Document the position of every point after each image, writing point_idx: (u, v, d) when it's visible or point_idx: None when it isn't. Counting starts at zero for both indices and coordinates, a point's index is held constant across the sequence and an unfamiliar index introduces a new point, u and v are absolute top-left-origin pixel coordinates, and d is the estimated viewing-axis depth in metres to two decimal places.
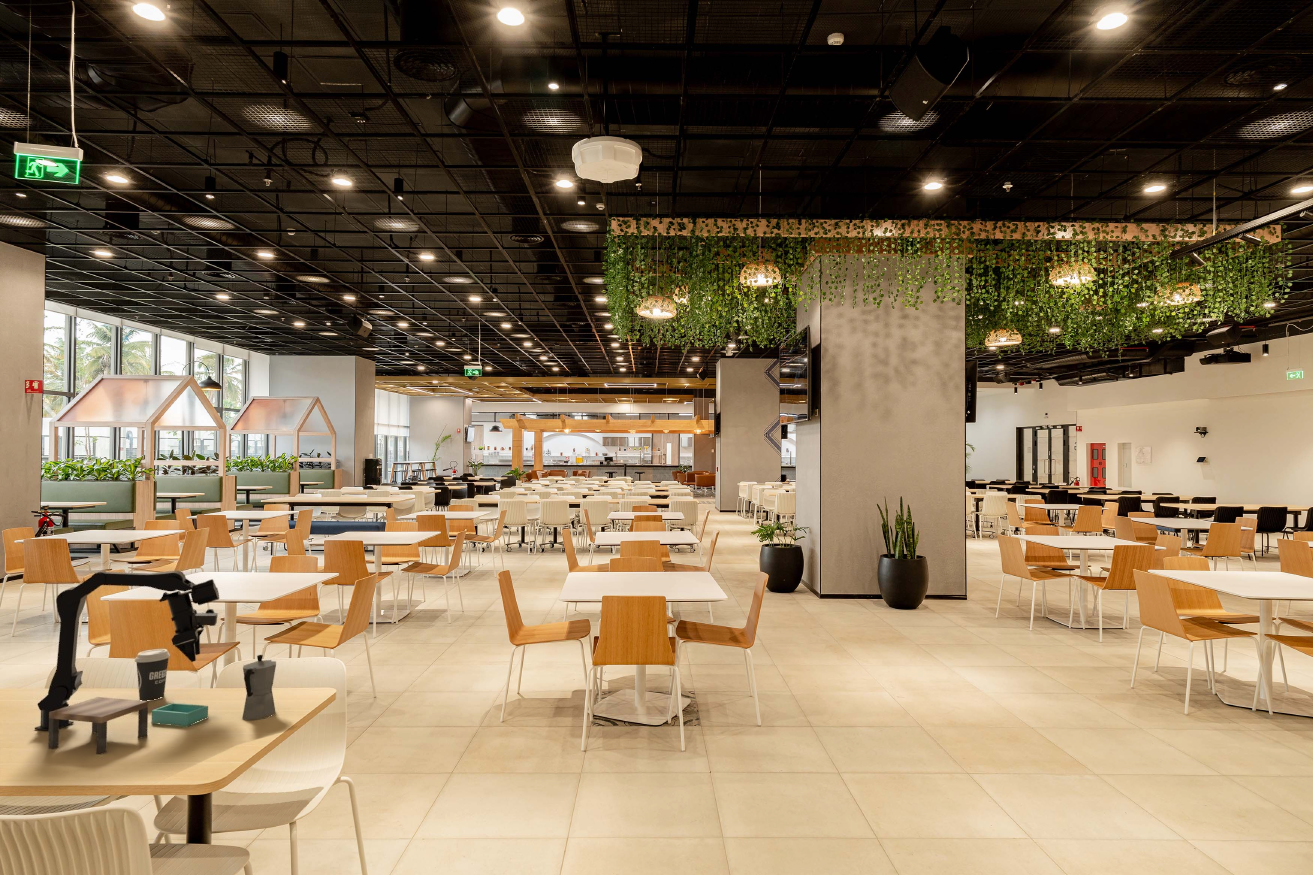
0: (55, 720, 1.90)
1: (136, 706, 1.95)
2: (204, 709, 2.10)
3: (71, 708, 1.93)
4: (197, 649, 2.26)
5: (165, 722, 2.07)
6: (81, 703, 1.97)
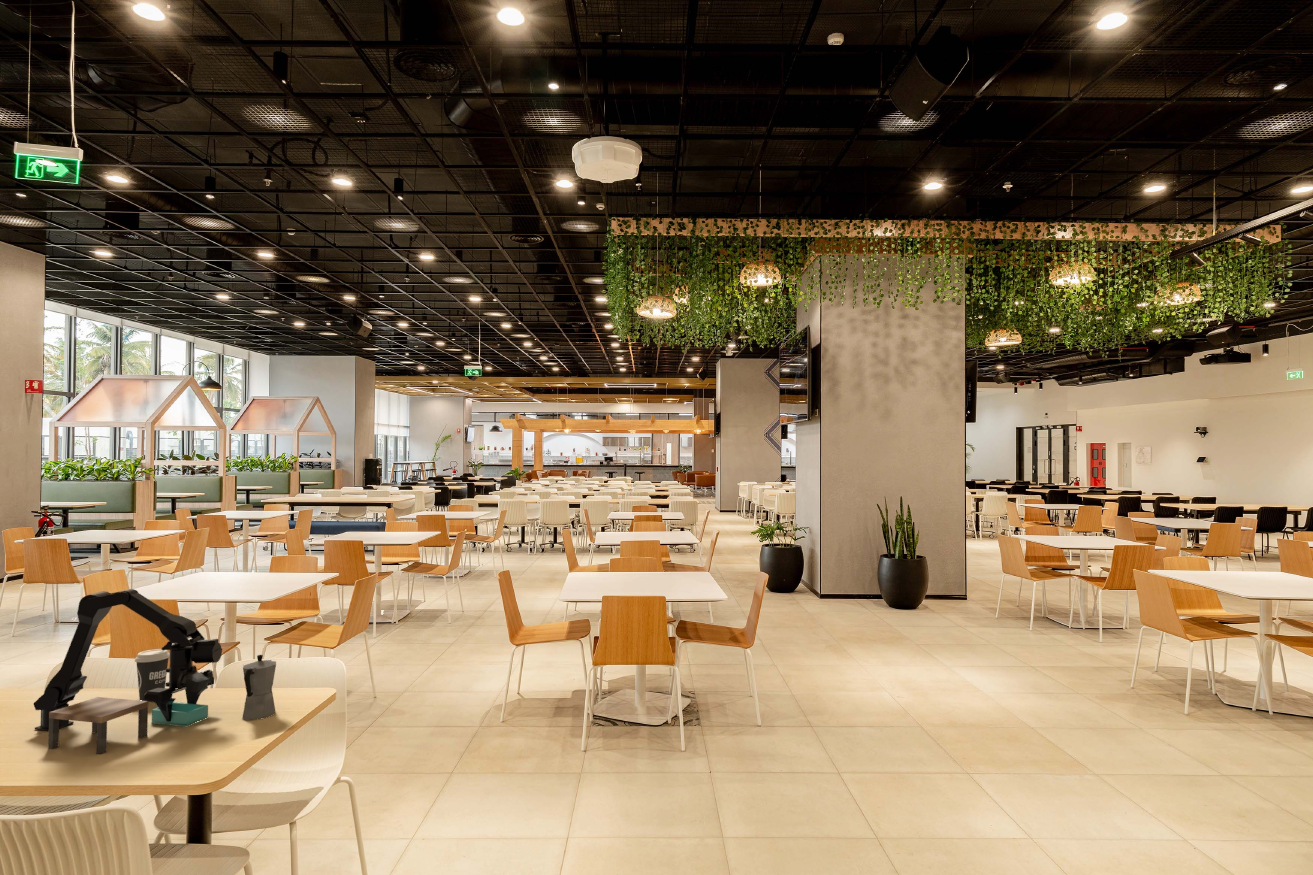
0: (55, 720, 1.90)
1: (136, 706, 1.95)
2: (204, 708, 2.10)
3: (71, 708, 1.93)
4: None
5: (165, 721, 2.07)
6: (81, 703, 1.97)
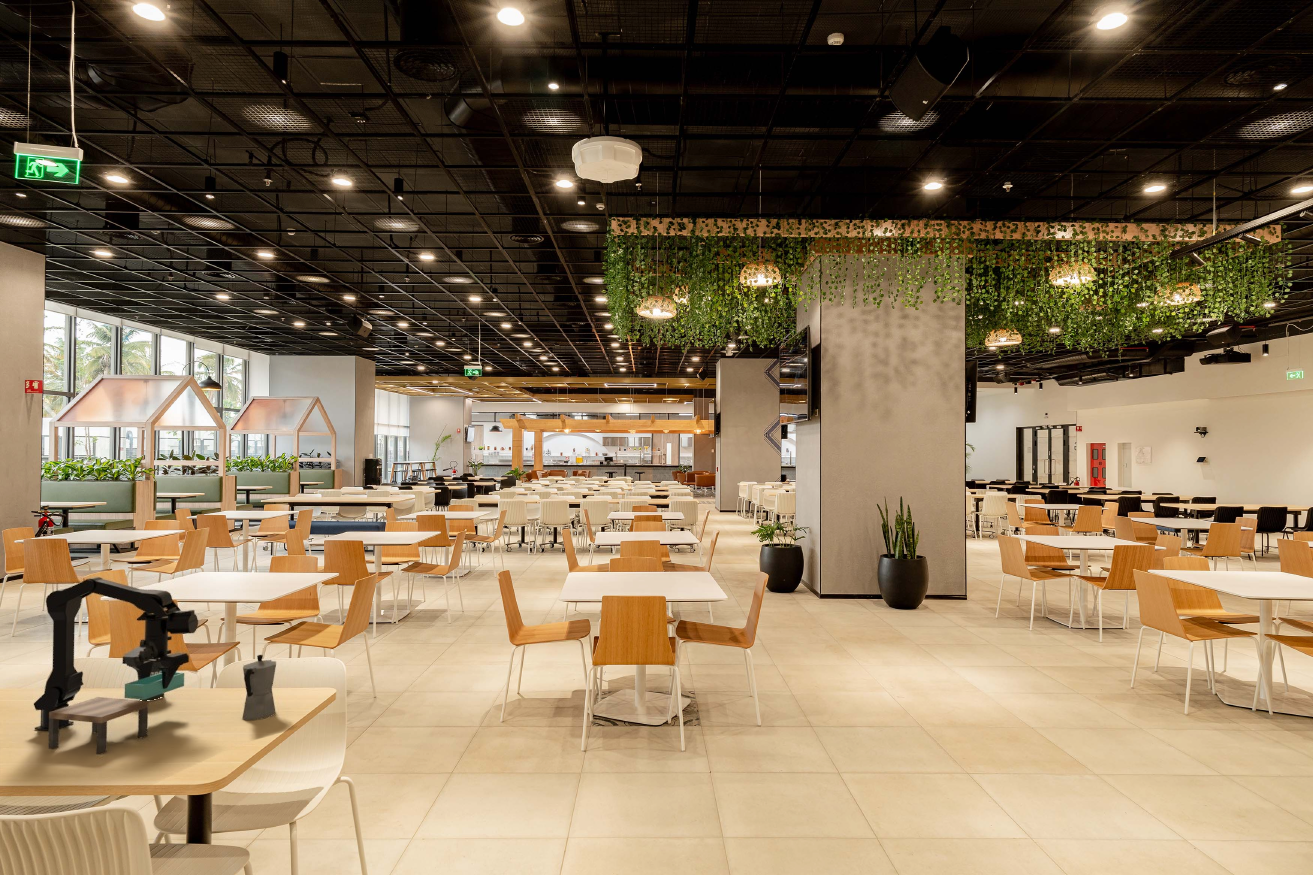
0: (55, 720, 1.90)
1: (136, 706, 1.95)
2: (140, 687, 2.03)
3: (71, 708, 1.93)
4: None
5: None
6: (81, 703, 1.97)
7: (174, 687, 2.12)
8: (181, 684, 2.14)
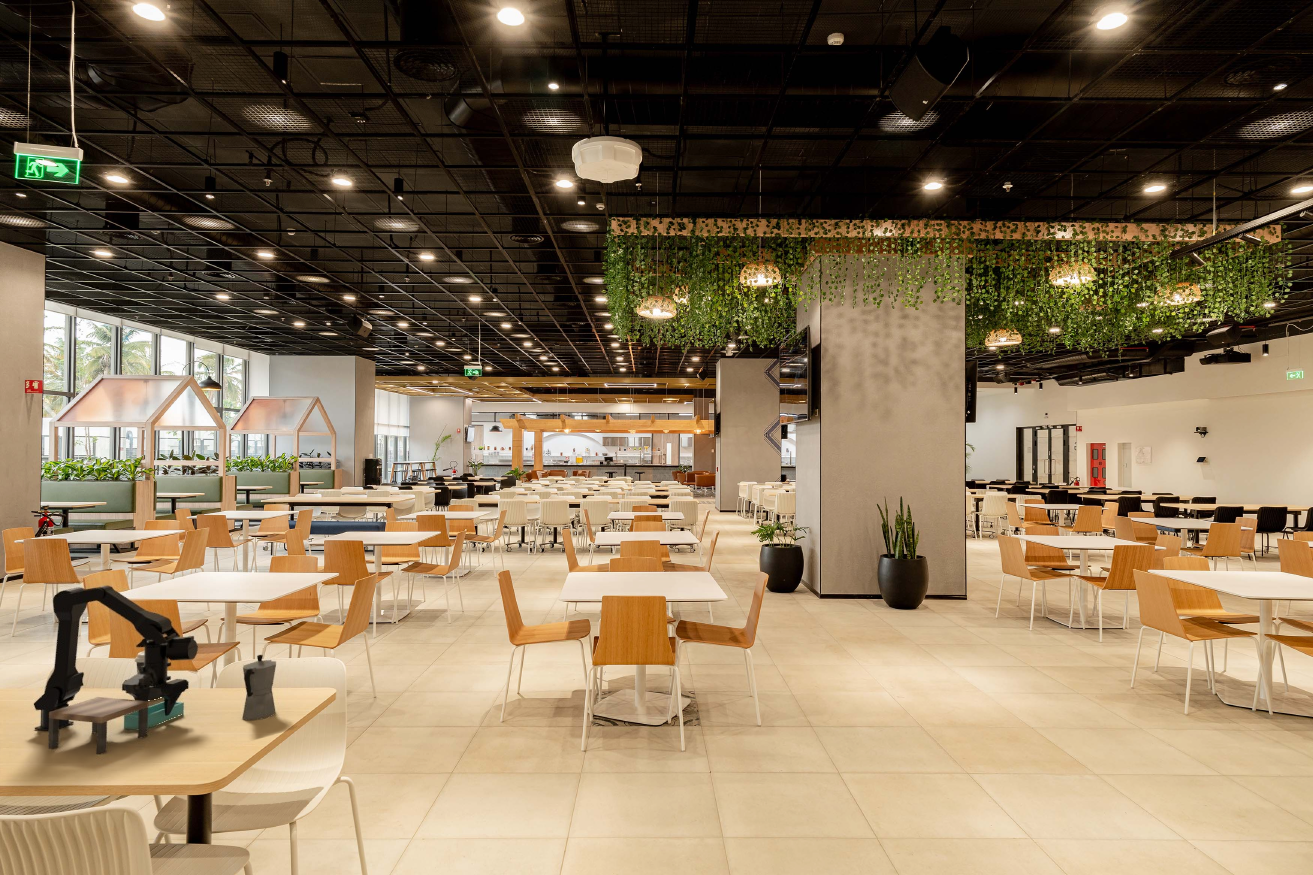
0: (55, 720, 1.90)
1: (136, 706, 1.95)
2: None
3: (71, 708, 1.93)
4: None
5: None
6: (81, 703, 1.97)
7: (173, 717, 2.12)
8: (180, 714, 2.14)
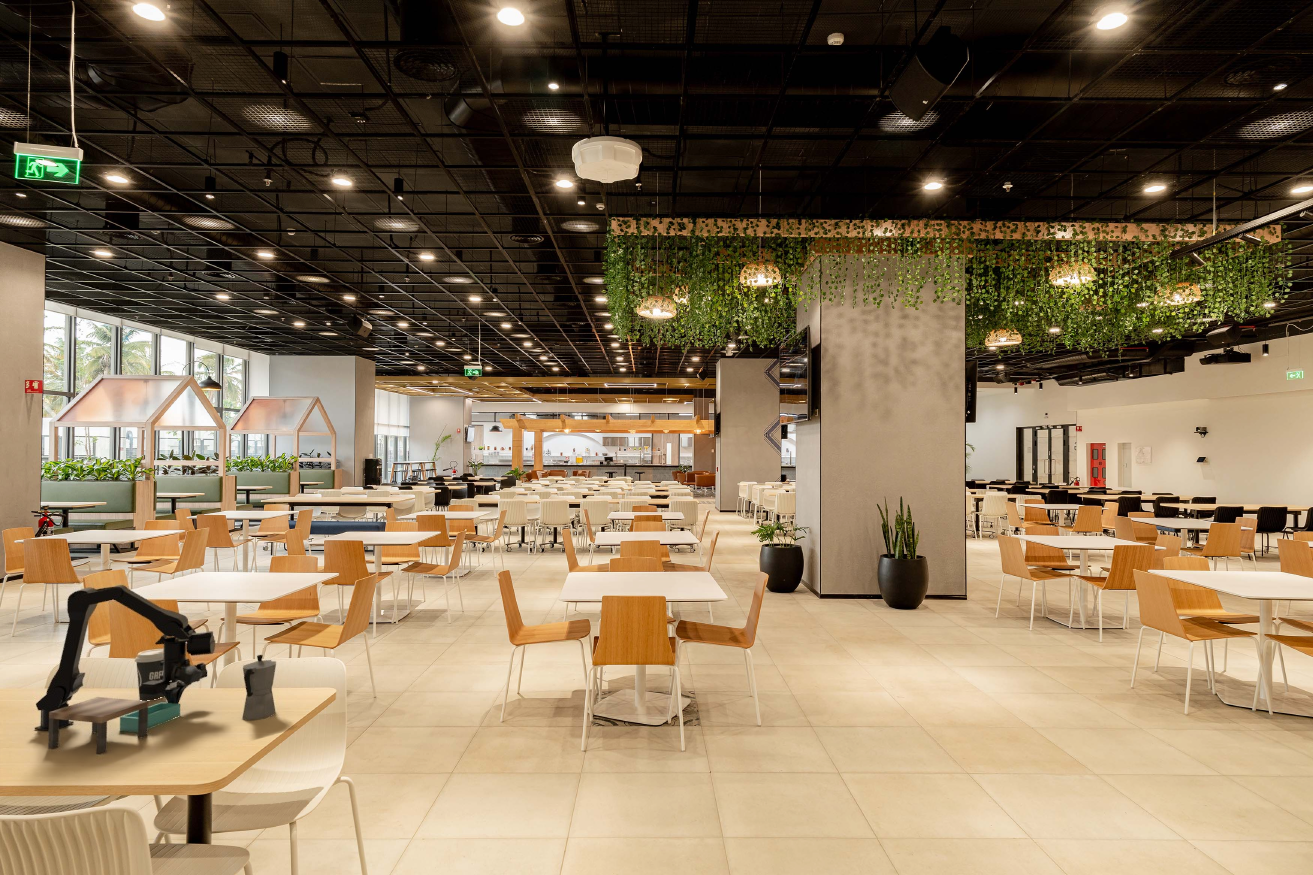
0: (55, 720, 1.90)
1: (136, 706, 1.95)
2: (136, 720, 2.01)
3: (71, 708, 1.93)
4: None
5: None
6: (81, 703, 1.97)
7: (170, 718, 2.10)
8: (177, 715, 2.12)
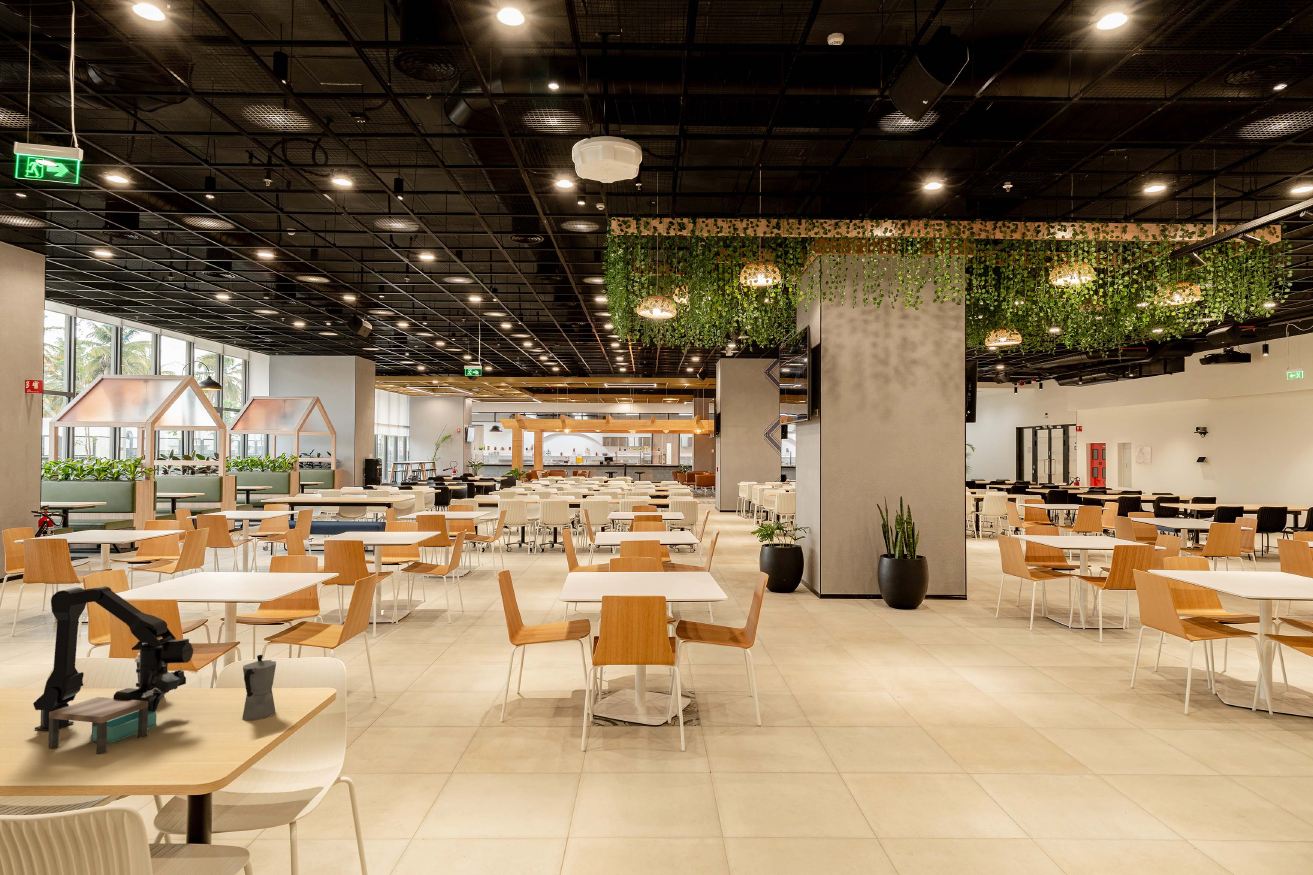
0: (55, 720, 1.90)
1: (136, 706, 1.95)
2: (109, 730, 1.94)
3: (71, 708, 1.93)
4: (151, 711, 2.08)
5: None
6: (81, 703, 1.97)
7: None
8: (153, 724, 2.05)
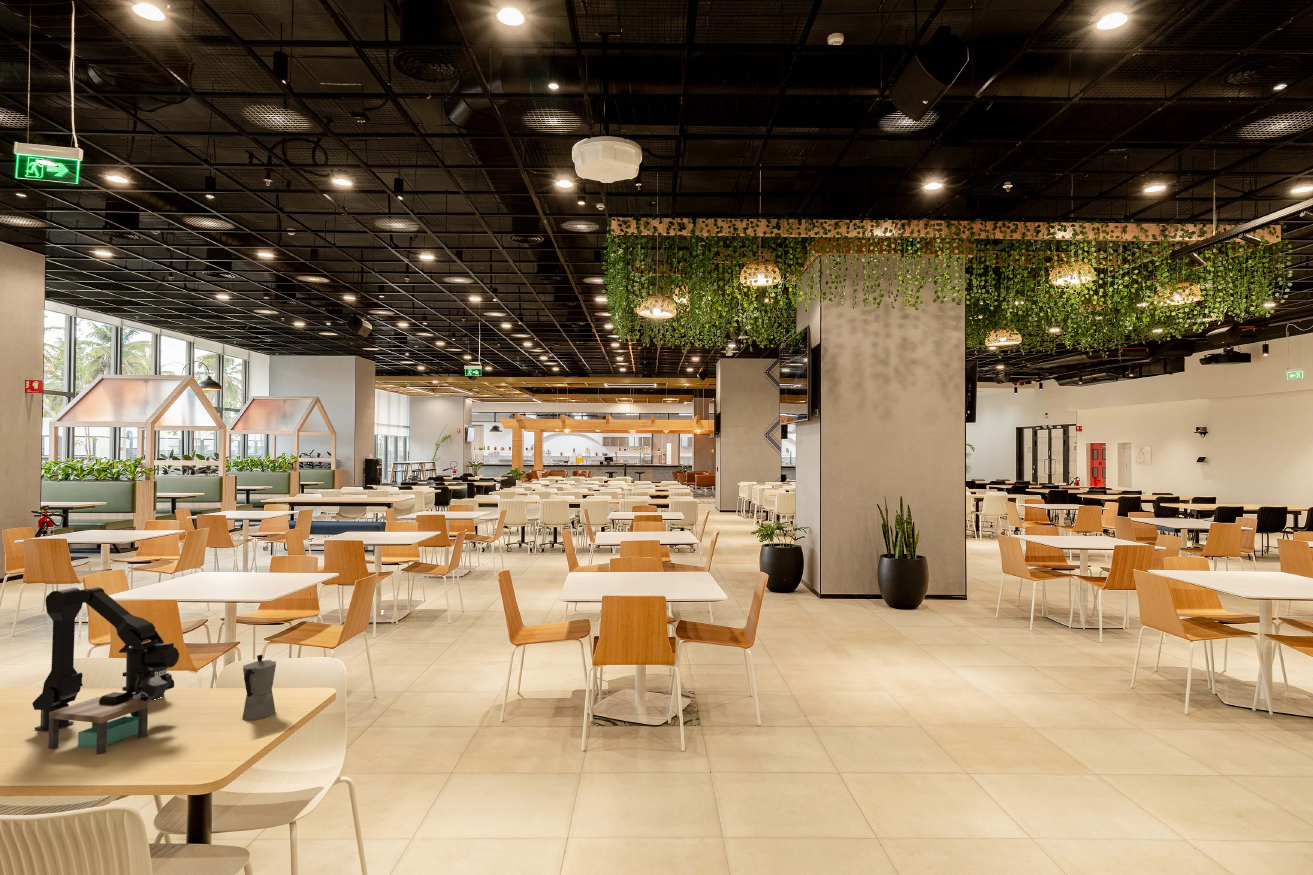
0: (55, 720, 1.90)
1: (136, 706, 1.95)
2: (94, 736, 1.90)
3: (71, 708, 1.93)
4: None
5: None
6: (81, 703, 1.97)
7: (133, 733, 1.99)
8: None
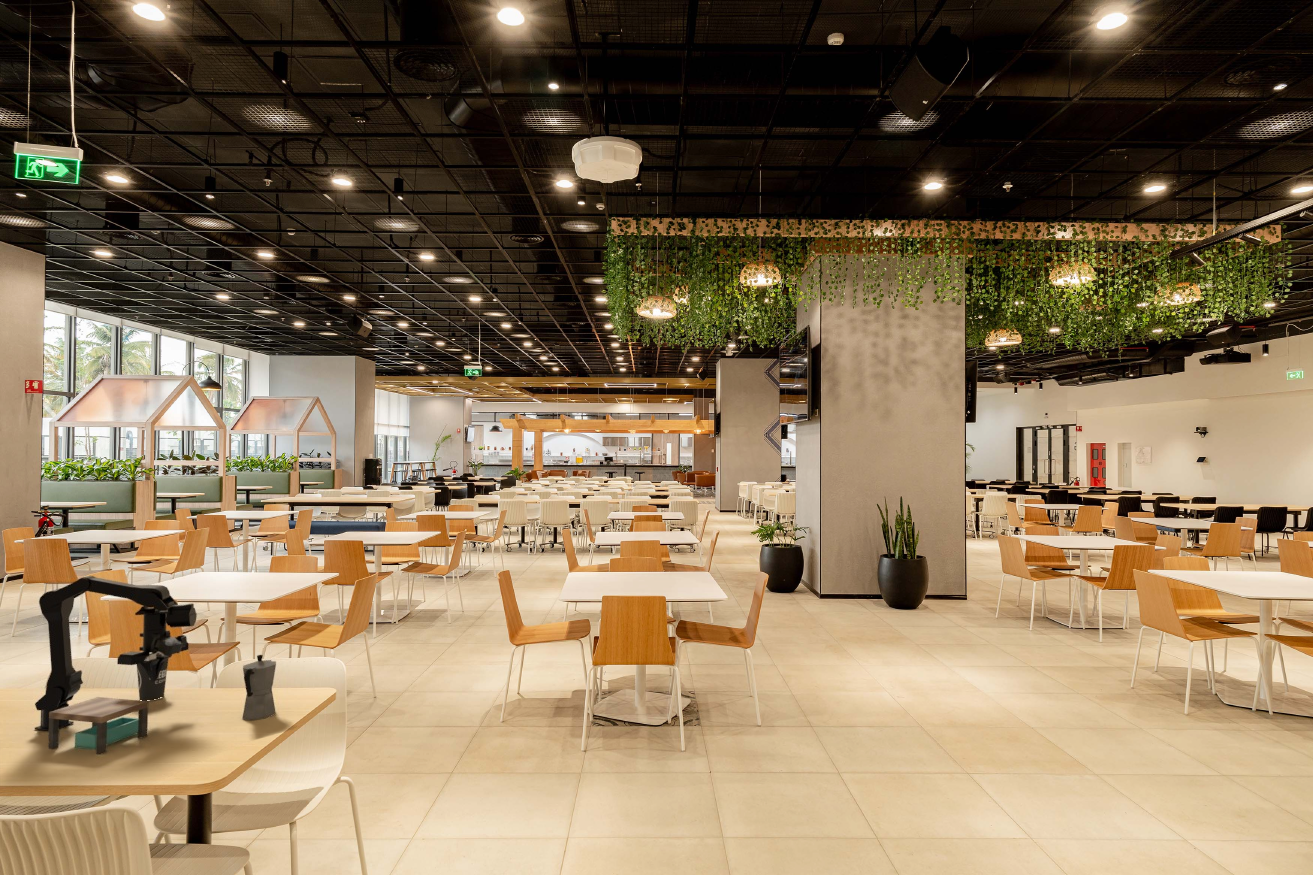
0: (55, 720, 1.90)
1: (136, 706, 1.95)
2: (91, 737, 1.89)
3: (71, 708, 1.93)
4: None
5: None
6: (81, 703, 1.97)
7: (130, 735, 1.98)
8: None
